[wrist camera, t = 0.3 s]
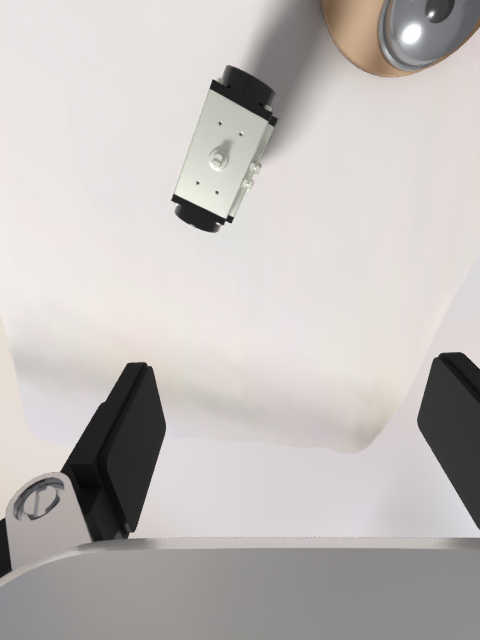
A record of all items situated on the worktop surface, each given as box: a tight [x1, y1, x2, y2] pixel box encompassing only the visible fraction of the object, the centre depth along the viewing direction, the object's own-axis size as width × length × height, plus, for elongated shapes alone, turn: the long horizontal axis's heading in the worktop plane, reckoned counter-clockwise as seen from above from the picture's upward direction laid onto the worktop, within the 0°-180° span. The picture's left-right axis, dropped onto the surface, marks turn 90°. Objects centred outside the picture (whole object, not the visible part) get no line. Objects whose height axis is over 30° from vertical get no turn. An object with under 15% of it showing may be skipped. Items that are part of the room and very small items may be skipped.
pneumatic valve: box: [171, 65, 278, 233], centre depth 29 cm, size 6×12×12 cm, turn 155°
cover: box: [377, 0, 480, 72], centre depth 25 cm, size 7×7×4 cm
